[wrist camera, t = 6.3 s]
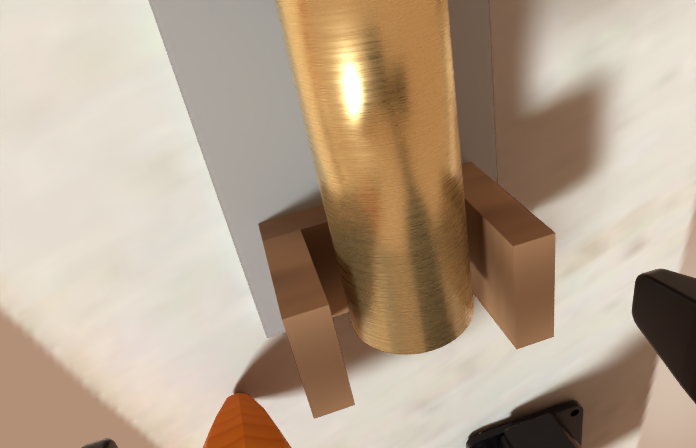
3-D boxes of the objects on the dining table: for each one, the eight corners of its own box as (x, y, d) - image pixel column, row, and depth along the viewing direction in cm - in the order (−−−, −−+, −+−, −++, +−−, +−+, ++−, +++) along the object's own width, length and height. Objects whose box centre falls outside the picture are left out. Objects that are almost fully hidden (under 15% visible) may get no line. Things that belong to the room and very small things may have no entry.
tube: (443, 259, 20) (495, 328, 17) (338, 292, 20) (371, 370, 16) (381, -281, 12) (456, -353, 9) (206, -249, 12) (215, -314, 9)
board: (494, 255, 24) (501, 263, 23) (264, 328, 22) (267, 338, 22) (460, -369, 14) (471, -380, 13) (45, -301, 12) (39, -311, 12)
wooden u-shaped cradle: (477, 250, 22) (553, 336, 18) (285, 311, 21) (313, 418, 17) (471, 161, 20) (555, 233, 16) (257, 223, 19) (281, 319, 15)
